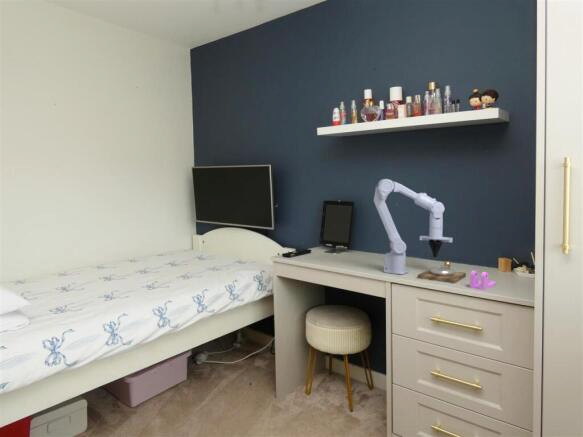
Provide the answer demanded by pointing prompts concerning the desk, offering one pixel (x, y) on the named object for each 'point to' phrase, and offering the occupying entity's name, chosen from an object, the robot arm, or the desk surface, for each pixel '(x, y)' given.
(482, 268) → the desk surface
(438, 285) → the desk surface
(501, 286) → the desk surface
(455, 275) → the dial plate
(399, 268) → the robot arm
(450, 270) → the dial
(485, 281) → the bracket
